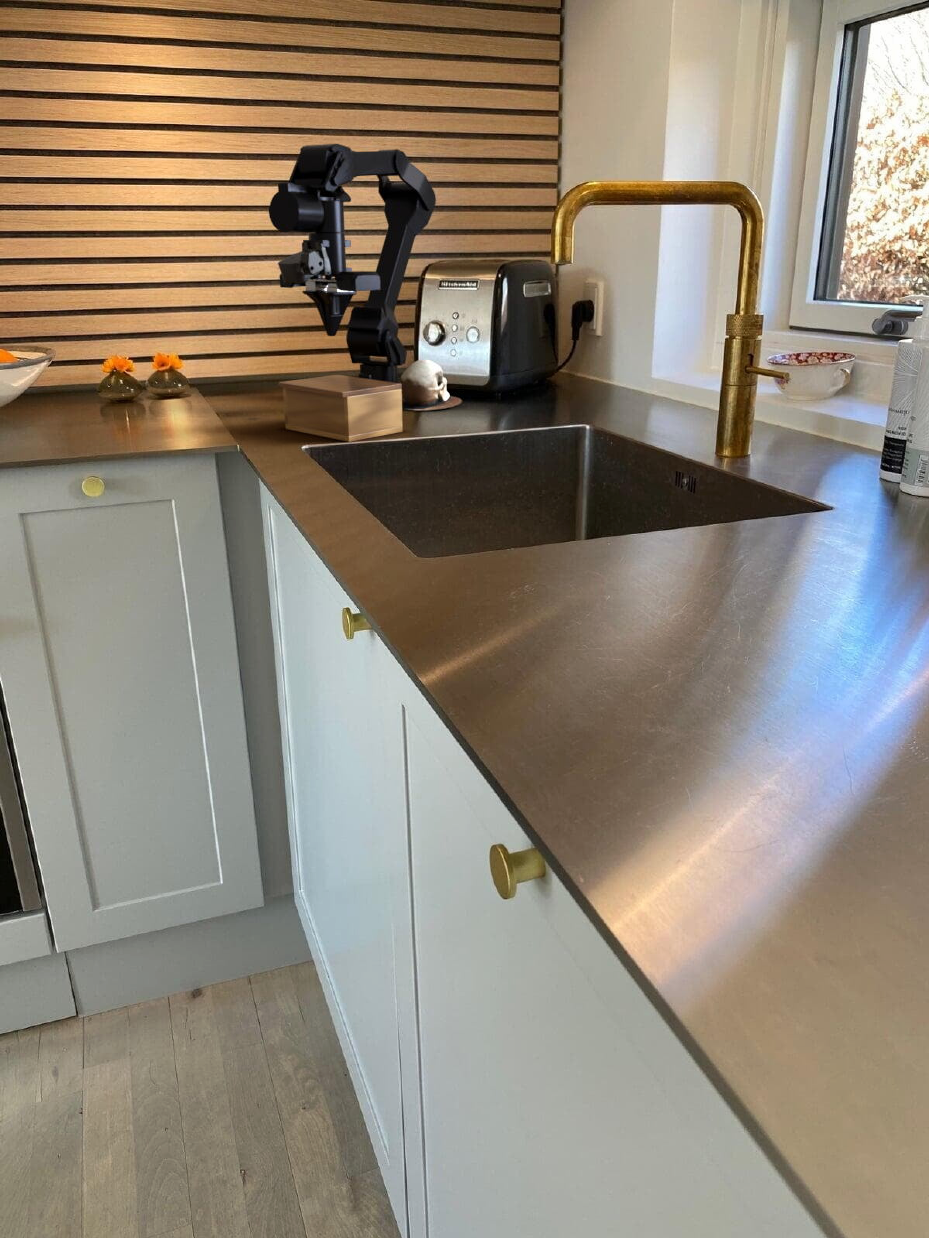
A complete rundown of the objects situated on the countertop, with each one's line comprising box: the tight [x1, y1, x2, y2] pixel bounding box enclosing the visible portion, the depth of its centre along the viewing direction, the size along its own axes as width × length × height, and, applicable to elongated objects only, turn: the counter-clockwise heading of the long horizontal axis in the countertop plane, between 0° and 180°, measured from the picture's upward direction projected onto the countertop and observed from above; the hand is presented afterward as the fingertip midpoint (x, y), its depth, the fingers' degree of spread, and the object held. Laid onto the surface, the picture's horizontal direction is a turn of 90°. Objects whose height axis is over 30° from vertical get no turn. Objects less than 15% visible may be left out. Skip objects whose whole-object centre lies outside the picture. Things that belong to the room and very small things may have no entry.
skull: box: [399, 359, 463, 411], centre depth 162 cm, size 12×10×10 cm
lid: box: [277, 374, 402, 398], centre depth 139 cm, size 11×15×1 cm
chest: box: [282, 388, 404, 443], centre depth 140 cm, size 11×15×6 cm
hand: (331, 336), depth 154 cm, fingers closed
